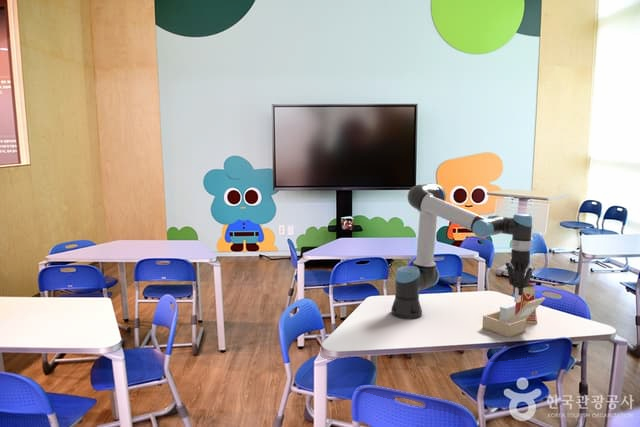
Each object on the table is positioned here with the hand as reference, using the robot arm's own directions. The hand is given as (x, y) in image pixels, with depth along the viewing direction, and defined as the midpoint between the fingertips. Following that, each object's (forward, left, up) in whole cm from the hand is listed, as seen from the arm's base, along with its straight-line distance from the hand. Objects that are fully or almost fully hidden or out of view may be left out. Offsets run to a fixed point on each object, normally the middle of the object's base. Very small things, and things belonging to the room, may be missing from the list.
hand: (517, 301), depth 214 cm
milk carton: (+3, +23, -15) cm, 28 cm away
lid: (+4, -2, -2) cm, 5 cm away
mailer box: (-5, +3, -15) cm, 16 cm away
